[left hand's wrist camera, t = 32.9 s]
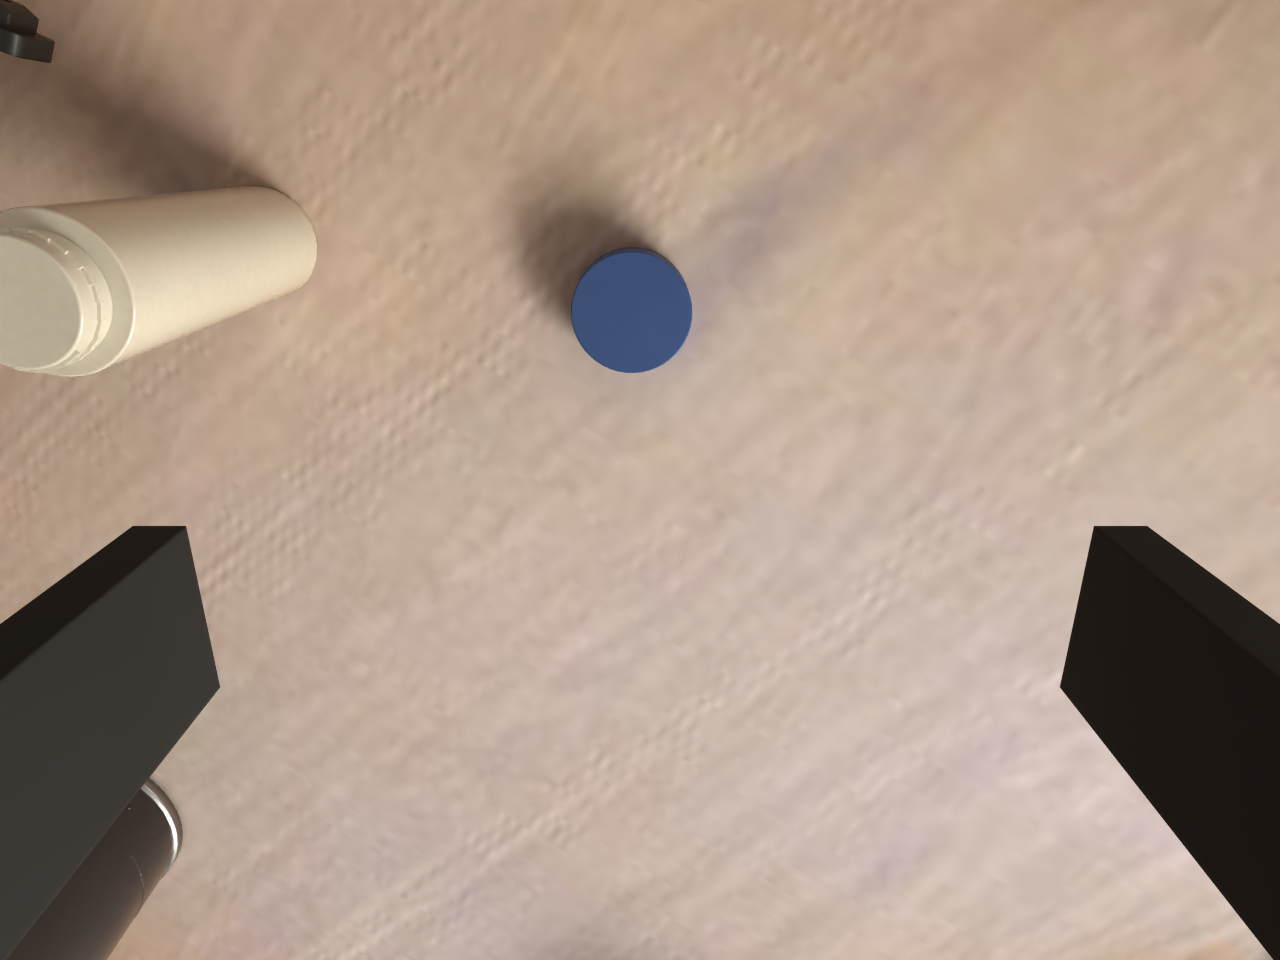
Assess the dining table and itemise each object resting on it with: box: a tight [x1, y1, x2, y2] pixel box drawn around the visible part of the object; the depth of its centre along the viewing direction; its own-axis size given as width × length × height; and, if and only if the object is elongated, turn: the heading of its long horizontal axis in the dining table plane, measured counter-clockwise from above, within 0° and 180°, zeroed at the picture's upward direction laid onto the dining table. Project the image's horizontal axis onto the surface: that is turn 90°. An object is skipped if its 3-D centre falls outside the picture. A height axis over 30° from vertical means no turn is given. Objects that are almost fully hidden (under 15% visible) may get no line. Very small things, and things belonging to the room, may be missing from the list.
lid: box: [571, 248, 692, 373], centre depth 37 cm, size 5×5×2 cm
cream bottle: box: [0, 186, 317, 377], centre depth 29 cm, size 5×5×16 cm
